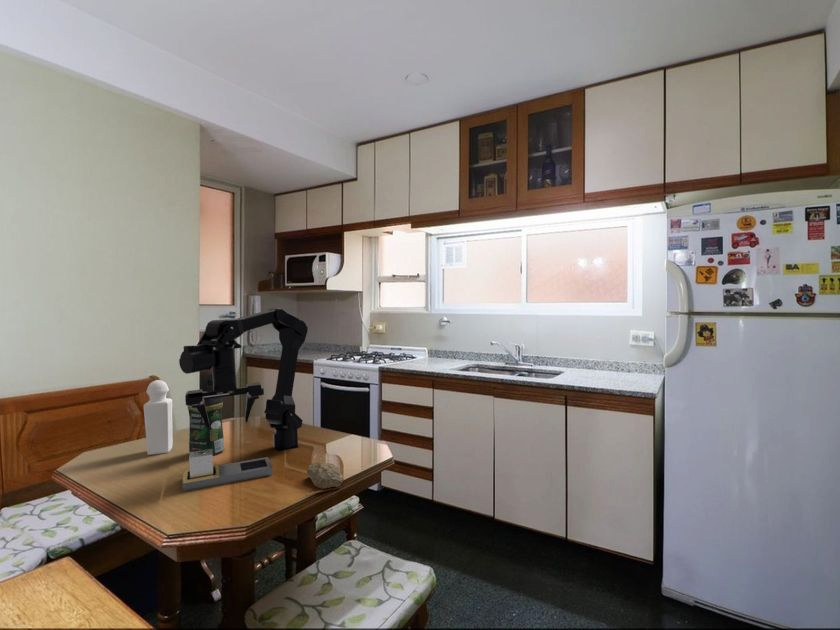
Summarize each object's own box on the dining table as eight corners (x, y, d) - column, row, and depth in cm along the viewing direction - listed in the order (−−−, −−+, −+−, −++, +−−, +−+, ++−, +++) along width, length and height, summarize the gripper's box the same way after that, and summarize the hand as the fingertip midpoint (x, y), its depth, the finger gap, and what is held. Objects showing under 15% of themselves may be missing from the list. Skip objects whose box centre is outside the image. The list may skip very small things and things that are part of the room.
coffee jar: (184, 455, 129) (181, 393, 129) (206, 447, 137) (204, 388, 136) (207, 459, 125) (204, 395, 125) (229, 450, 133) (227, 389, 132)
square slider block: (213, 476, 111) (212, 448, 110) (213, 483, 106) (212, 454, 106) (191, 480, 108) (190, 452, 108) (190, 487, 104) (189, 458, 104)
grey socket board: (268, 465, 118) (267, 456, 118) (272, 476, 110) (272, 466, 110) (184, 480, 110) (184, 470, 109) (182, 493, 101) (182, 482, 101)
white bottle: (174, 446, 139) (171, 377, 138) (169, 453, 132) (166, 380, 132) (151, 449, 136) (148, 379, 136) (145, 456, 130) (142, 382, 130)
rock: (318, 494, 99) (317, 475, 99) (303, 479, 108) (302, 461, 108) (349, 486, 103) (349, 468, 103) (332, 472, 112) (331, 455, 112)
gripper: (257, 360, 127) (261, 413, 127) (185, 367, 119) (189, 424, 119) (262, 364, 117) (265, 421, 118) (183, 372, 109) (187, 434, 109)
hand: (227, 425), depth 116 cm, fingers open, 9 cm apart
